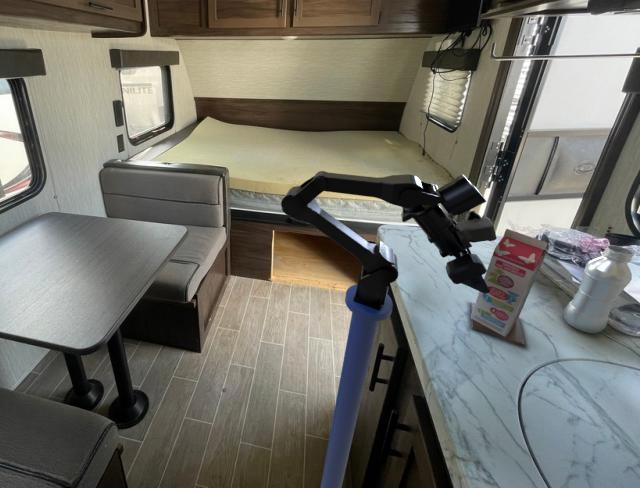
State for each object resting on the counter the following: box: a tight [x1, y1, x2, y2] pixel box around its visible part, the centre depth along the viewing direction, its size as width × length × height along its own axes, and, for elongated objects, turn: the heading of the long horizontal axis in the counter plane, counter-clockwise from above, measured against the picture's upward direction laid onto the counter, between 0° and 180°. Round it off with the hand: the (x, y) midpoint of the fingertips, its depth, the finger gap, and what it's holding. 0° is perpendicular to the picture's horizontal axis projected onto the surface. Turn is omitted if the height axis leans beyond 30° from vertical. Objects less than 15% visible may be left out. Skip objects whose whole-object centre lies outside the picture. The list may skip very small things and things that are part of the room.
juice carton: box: [469, 228, 549, 337], centre depth 68 cm, size 7×7×22 cm
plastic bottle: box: [562, 244, 635, 334], centre depth 68 cm, size 6×7×20 cm
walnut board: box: [470, 302, 526, 348], centre depth 72 cm, size 9×9×1 cm
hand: (481, 279), depth 70 cm, fingers open, 9 cm apart
